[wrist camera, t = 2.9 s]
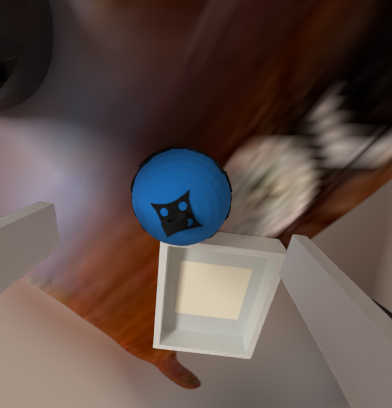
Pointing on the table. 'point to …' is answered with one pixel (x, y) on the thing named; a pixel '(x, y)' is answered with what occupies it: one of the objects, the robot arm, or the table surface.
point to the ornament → (181, 195)
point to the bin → (216, 293)
